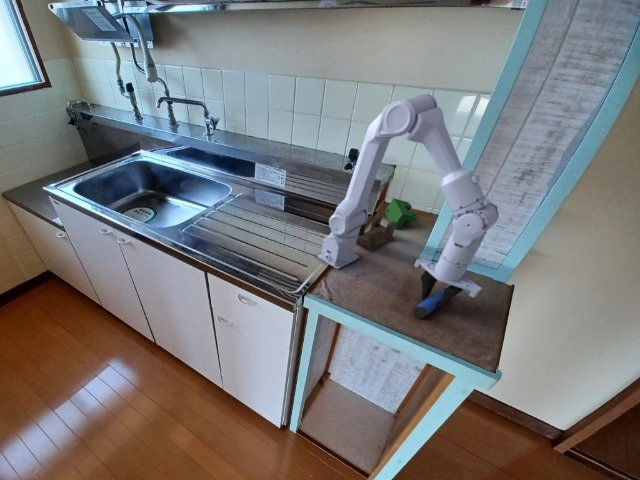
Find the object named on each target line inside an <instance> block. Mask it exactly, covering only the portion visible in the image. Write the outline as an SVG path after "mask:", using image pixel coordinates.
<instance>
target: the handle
mask: <svg viewBox="0 0 640 480" xmlns="http://www.w3.org/2000/svg"><path fill="white" fill-rule="evenodd" d="M446 288H447V287H442V288H441V289H439V290H437V292H434V293H433V294H432V295H431V296H428V297H427V298H426V299H424V300H423V301H421V303H419V304H418V305H416V306H414V307H413V309H412V313H413V315H414V316H415V317H416V318H418V319H424V318H425V317H426V316H428V315H429V314H430V313H432V312H433V311H435V310H436V309H438V308H437V305H438V303H439V302H440V300H441V299H442V296H443V294H444V290H445V289H446Z"/></svg>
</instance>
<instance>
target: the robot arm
mask: <svg viewBox="0 0 640 480" xmlns="http://www.w3.org/2000/svg"><path fill="white" fill-rule="evenodd" d="M367 127H368V128H367V130H366V133H365V135H364V139H363V143H362V145H361V149H360V152H359V155H358V158H357V161H356V165H355V167H354V170H353V173H352V176H351V179H350V183H349V186H348V189H347V192H346V195H345V198H344V199H342V201H341V202H340V203H339V204H338V205H337V206H336V208H335V211H334V213H333V214H332V215H331V216H330V218H329V220H328V226H329V229H330V231H331V232H330V233H329V234H328V235H327V236H325V237H324V238H323V240H322V243H321V249H320V253H319V254H318V255H317V257H318V258H319V259H321V260H322V261H324V262H325V263H326V264H329V265H330V266H331V267H333V268H334V269H337V270H339V269H341V268H342V267H345V266H347V265H349V264H350V263H352V262H354V261H356V260H358V259H359V258H360V256H359V255H358V254H356V253H355V249H356V246H357V244H356V242H357V238H358V235H359V230H360V228H361V225H363V224H365V223H366V224H367V221H368V218H369V213H368V211H369V207H370V203H369V202H368V199H369V196H370V194H371V191H372V188H373V185H374V183H375V181H376V178H377V175H378V172H379V170H380V167H381V164H382V162H383V159H384V157H385V155H386V152H387V150H388V149H387V148H388V146H389V143H390V141H391V139H393V138H395V137H401V136H405V135H406V134H407V133H409V134H408V135H407V136H406V137H405V140H407V141H409V142H415V143H418V144H423V146H424V147H425V149H426V151H427V152H428V154H429V156H430V158H431V159H432V161H433V163H434V165H435V167H437V169H438V171H439V173H440V175H441V177H442V179H441V180H442V181H441V183H440V185H439V187H440V190H441V192H442V194H443V196H444V198H445V200H446V203H447V204H448V207H449V208H450V210H451V213H452V215H453V216H454V217H455V218H454V219H453V221H452V229H453V231H452V233H451V235H450V236H449V238H448V239H447V242H446V244H445V246H444V248H443V251H442V252H441V254H440V256H439V259H438V261H433V260H430V259H427V258H424V257H422V256H421V257H419V258H417V259H416V260H415V263H414V265H413V267H415V268H416V269H419V268H420V269H422V270H424V272H423V273H422V274H421V275H420V280H421V286H422V293H421V300H423V301H425V300H426V299H428V298H429V297H430V294H431V293H432V291H433V288H434V287H435V285H436V283H437V282H438V281H439V282H441V283H444V284H447V285H449V286H447V287H445V288H446V289H445V290H444V294H443V296H442V299H441V300H440V302H439V303H438V305H437V308H436V309H438V310H440V309H442V308H443V307H444V306H445V305H446V304H447V302H448V301H450V300H451V299H452V298H454V297H456V296H457V295H459V294H461V292H465V293H467V294H469V295H468V296H469V297H471V298H472V299H475V297H477V296H478V295H479V294H480V292H481V291H482V289H483V287H481V286H479V285H477V284H476V283H475V282H473V281H472V280H471V279H470V278H468V277H467V276H466V275H465V272H466V271H467V269H468V267H469V265H470V264H471V262H472V260H473V259H474V257H475V255H476V254H477V252H478V251H479V248H480V247H481V245H482V242H483V240H484V239H485V236H486V234H487V232H488V230H490V229H491V228H492V227H493V226H494V225H495V224H496V223H497V222H498V219H499V217H500V216H499V215H500V213H499V209H498V206H497V205H496V204H495V203H493V202H492V201H490V199H489V198H486V196H485V194H484V191H483V190H482V188H481V186H480V184H479V182H480V181H481V178H480V175H479V174H477V173H476V174H475V173H474V171H473V170H472V169H468V168H465V167H463V166H462V163H461V161H460V159H459V157H458V154H457V153H458V152H457V151H456V149H455V146H454V144H453V141H452V139H451V136H450V134H449V131H448V129H447V126H446V123H445V119H444V112H443V109H442V108H441V107H440V106H438V101H437V99H436V97H435V96H434V95H432V94H431V93H427V92H423V93H419V94H417V95H415V96H411V97H408V98H405V99H399V100H396V101H394V102H392V103H389V104H387V105H385V106H384V107H383V108H382V111H381V113H379V114H378V116H377V117H376V118H375V119H374V120H373V121H372V122H371V123H370V124H369V125H368V126H367Z"/></svg>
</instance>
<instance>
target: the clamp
mask: <svg viewBox="0 0 640 480" xmlns="http://www.w3.org/2000/svg"><path fill="white" fill-rule="evenodd" d="M412 208H413V206H412V205H411V203H410V202H408V201H405V200H401V199H398V198H392V200H391V201H390V203H389V205H388V206H387V208H386V209H385V216H386V218H387V220H388V221H389V223H391V222H393V221H394V222H397V223H396V226H395V229H401V227H402V226H408V227H410V225H411V223H412V222H416V221H417V220H418V218H419V215H418V213H416V212H413V211H411V209H412Z"/></svg>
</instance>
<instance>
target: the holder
mask: <svg viewBox="0 0 640 480" xmlns="http://www.w3.org/2000/svg"><path fill="white" fill-rule="evenodd" d="M382 219H383V215H382V214H377V215H375V216H373V218H372V222H371V226H370V228H369V230H368V231H366V232H365V230H366V226H367V222H366V223H365V224H363V225H361V228H360V230H359V235H358V238H357V242H356V245H357V246H359V247H361V248H363V249H365V250H367V252H371V251H372V250H375V249H377V248H379V247H380V246H382V245H384V244H386V243H388V242H390V241H393V235H394V231H395V229H396V228H395V226H396V223H397V222H394V221H393V222H391V223H390V222H389V223H387V225H386V226H384V225H383V224H381V222H382Z"/></svg>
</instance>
